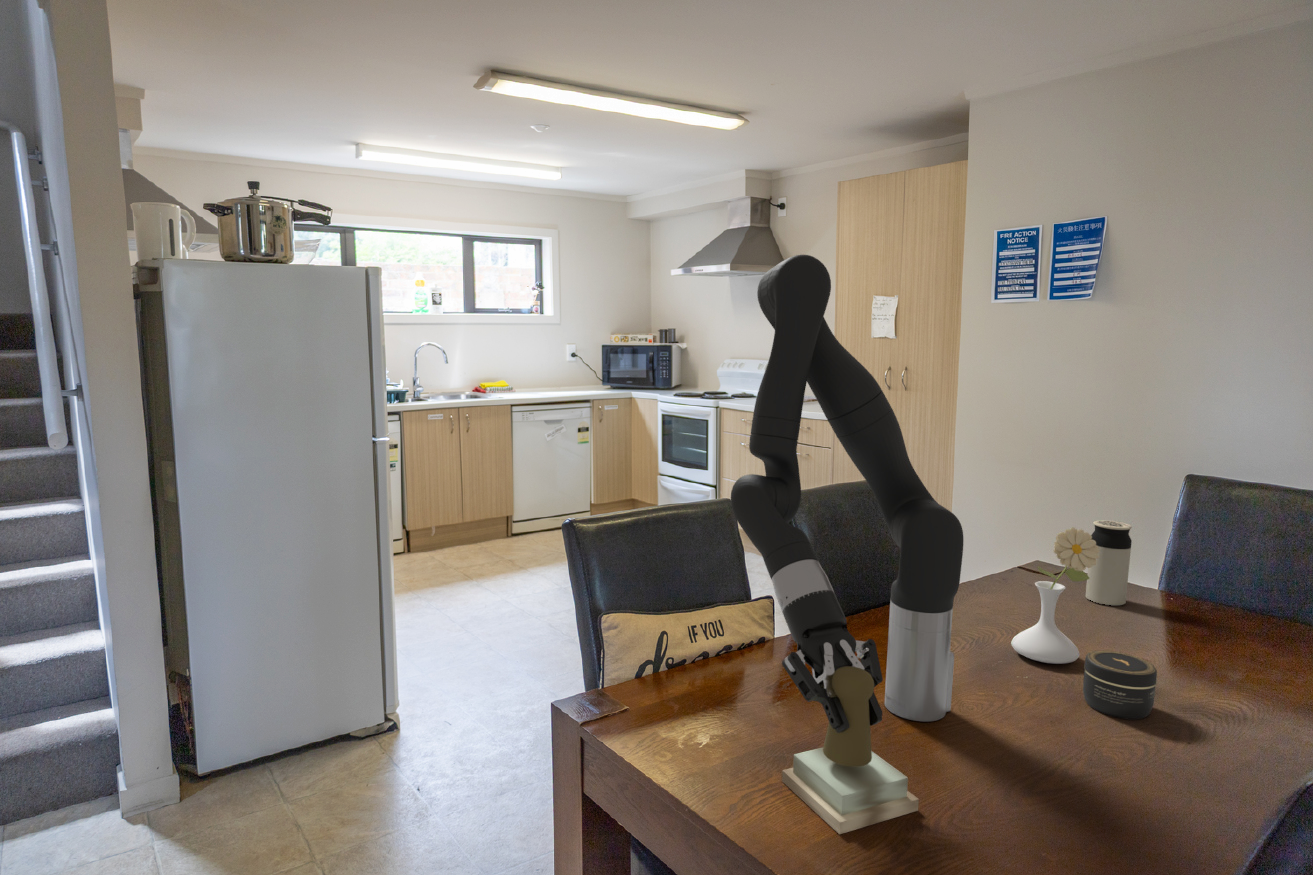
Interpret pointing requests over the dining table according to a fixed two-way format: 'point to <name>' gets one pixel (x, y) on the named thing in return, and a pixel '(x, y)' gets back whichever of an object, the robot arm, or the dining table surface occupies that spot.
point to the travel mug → (1110, 563)
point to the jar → (1119, 684)
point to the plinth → (852, 817)
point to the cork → (851, 718)
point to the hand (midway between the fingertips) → (860, 726)
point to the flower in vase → (1045, 636)
